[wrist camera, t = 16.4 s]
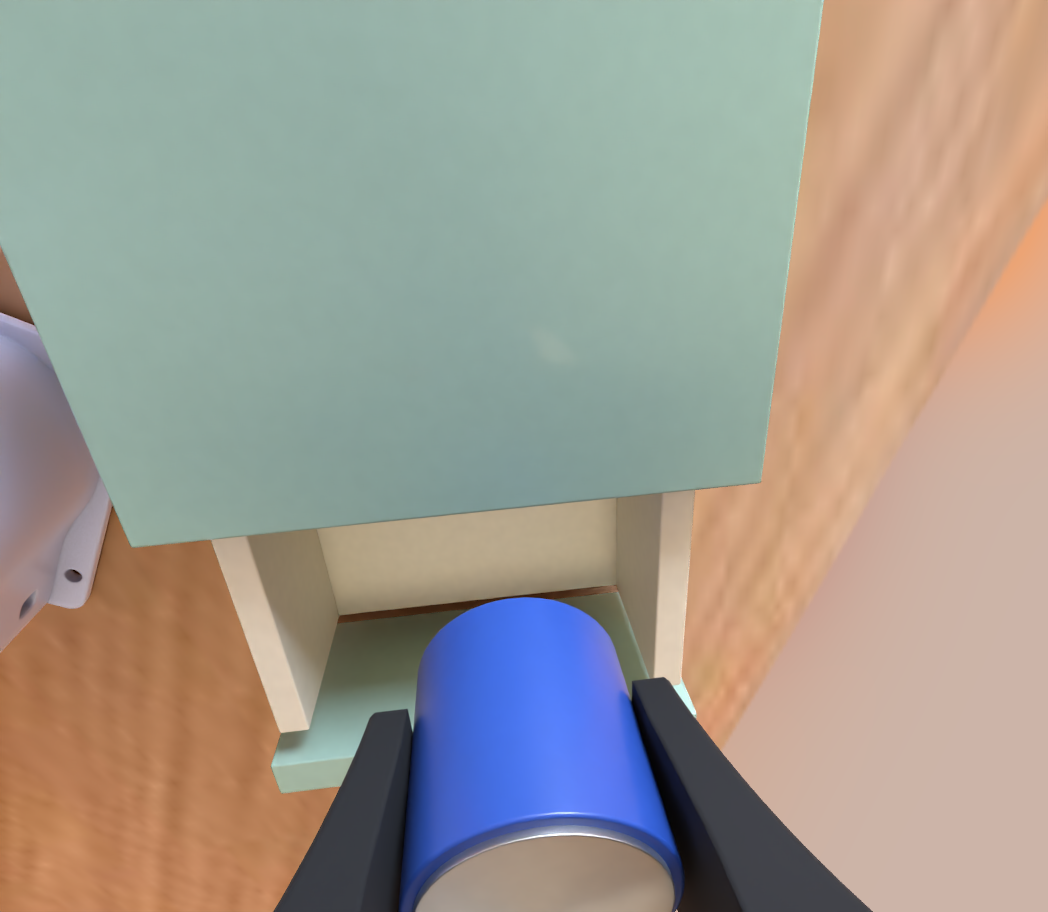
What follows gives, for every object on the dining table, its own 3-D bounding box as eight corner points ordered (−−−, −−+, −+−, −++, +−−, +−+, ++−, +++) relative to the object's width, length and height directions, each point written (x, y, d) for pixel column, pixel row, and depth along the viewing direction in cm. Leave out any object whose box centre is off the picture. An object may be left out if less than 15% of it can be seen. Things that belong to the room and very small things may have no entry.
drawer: (640, 702, 25) (685, 839, 20) (346, 738, 24) (316, 889, 19) (655, 243, 17) (738, 280, 12) (214, 278, 16) (103, 333, 11)
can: (653, 631, 12) (745, 858, 8) (560, 760, 14) (600, 1005, 10) (467, 569, 11) (471, 797, 7) (387, 718, 13) (354, 974, 9)
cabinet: (662, 375, 19) (762, 484, 13) (243, 414, 19) (130, 549, 12) (688, -251, 13) (911, -650, 7) (54, -229, 12) (-394, -653, 6)
